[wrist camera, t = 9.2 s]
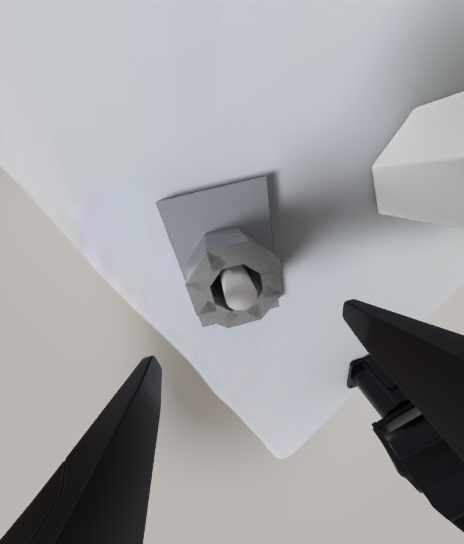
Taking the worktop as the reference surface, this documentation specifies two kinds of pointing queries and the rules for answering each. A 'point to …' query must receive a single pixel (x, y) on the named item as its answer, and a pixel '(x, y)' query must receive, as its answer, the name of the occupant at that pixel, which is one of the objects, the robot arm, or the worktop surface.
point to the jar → (425, 166)
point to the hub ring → (224, 254)
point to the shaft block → (216, 216)
